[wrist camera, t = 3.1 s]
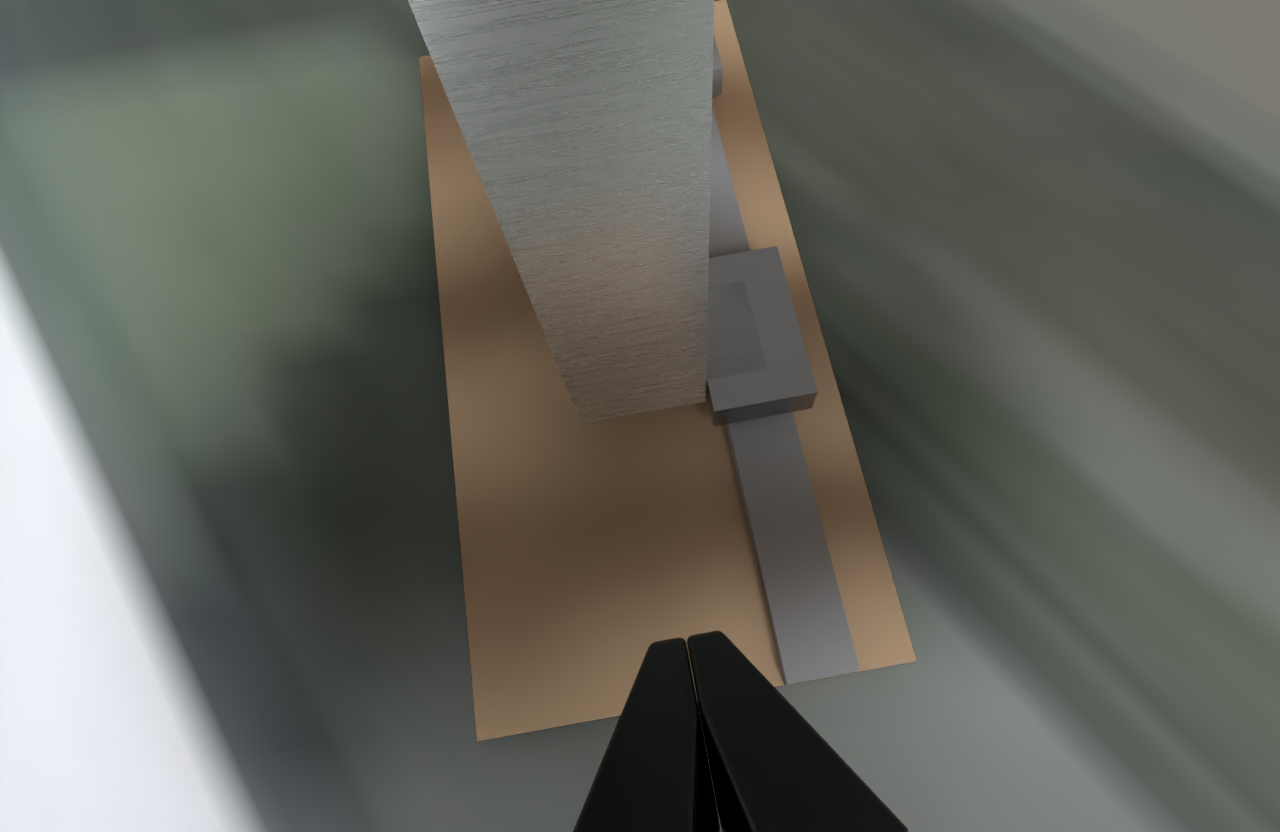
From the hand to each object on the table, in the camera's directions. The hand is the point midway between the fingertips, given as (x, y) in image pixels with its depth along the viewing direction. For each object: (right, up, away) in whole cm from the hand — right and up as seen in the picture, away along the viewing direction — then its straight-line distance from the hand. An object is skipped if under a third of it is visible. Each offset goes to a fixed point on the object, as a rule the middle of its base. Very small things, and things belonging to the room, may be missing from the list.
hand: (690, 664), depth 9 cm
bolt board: (-1, +6, +13) cm, 14 cm away
